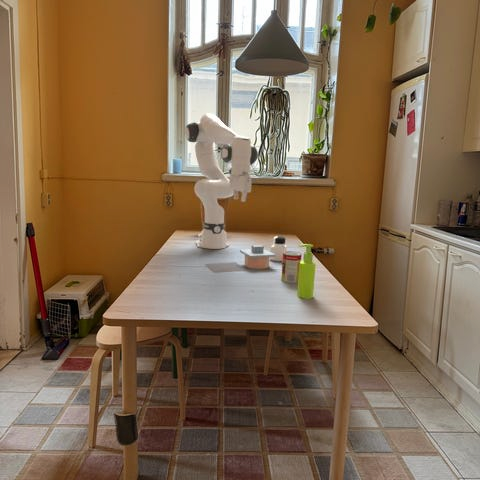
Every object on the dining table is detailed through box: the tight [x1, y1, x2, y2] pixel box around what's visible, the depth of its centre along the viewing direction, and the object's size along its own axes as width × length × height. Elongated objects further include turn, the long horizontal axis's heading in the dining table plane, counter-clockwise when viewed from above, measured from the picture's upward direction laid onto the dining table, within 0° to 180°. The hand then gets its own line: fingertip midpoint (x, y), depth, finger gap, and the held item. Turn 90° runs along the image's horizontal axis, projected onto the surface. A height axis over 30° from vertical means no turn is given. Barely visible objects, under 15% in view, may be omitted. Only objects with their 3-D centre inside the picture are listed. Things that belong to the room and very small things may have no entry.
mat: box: [204, 261, 248, 274], centre depth 190 cm, size 16×16×1 cm
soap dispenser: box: [296, 243, 317, 299], centre depth 153 cm, size 6×7×20 cm
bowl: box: [244, 255, 270, 270], centre depth 195 cm, size 11×11×6 cm
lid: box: [239, 244, 276, 258], centre depth 194 cm, size 13×13×4 cm
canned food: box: [280, 250, 303, 284], centre depth 173 cm, size 8×8×12 cm
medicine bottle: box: [269, 235, 288, 262], centre depth 211 cm, size 7×7×12 cm
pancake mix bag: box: [200, 197, 230, 233], centre depth 272 cm, size 7×19×28 cm, turn 94°
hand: (239, 200), depth 196 cm, fingers open, 8 cm apart
